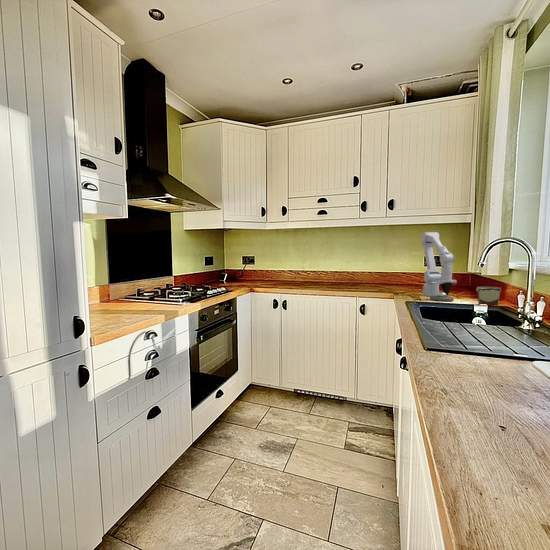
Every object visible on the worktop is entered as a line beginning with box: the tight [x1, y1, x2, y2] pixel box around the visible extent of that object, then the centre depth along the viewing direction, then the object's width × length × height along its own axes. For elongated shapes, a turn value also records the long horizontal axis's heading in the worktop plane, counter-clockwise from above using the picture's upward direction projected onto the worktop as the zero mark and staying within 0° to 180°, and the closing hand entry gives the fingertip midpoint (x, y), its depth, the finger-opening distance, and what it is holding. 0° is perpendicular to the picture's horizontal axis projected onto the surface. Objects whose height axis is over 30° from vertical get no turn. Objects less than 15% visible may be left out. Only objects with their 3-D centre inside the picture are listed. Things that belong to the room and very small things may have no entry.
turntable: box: [429, 295, 455, 302], centre depth 188 cm, size 13×13×2 cm
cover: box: [437, 290, 447, 297], centre depth 188 cm, size 5×5×3 cm
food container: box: [475, 286, 502, 306], centre depth 169 cm, size 12×6×10 cm, turn 84°
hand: (446, 294), depth 189 cm, fingers closed
